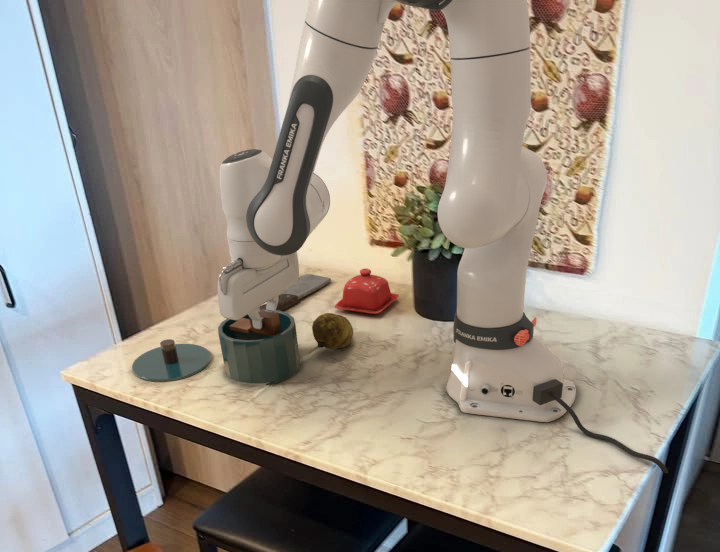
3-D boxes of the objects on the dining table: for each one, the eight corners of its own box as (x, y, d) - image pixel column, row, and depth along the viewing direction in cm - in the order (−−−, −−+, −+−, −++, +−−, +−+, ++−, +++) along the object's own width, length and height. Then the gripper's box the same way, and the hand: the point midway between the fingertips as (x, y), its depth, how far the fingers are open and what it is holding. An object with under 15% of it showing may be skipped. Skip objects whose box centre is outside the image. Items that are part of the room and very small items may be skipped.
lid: (227, 356, 152) (222, 333, 149) (176, 390, 141) (170, 366, 138) (169, 343, 159) (164, 320, 156) (116, 375, 148) (110, 351, 145)
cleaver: (258, 327, 162) (257, 318, 160) (223, 319, 166) (222, 310, 165) (335, 281, 181) (334, 273, 180) (302, 275, 186) (301, 267, 185)
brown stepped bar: (283, 329, 141) (281, 311, 139) (271, 338, 139) (268, 320, 137) (242, 321, 146) (239, 303, 144) (229, 329, 143) (226, 311, 141)
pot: (314, 358, 149) (309, 315, 143) (271, 392, 139) (265, 347, 133) (255, 346, 155) (248, 304, 150) (210, 377, 145) (201, 334, 140)
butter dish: (356, 293, 174) (353, 257, 169) (401, 300, 170) (400, 263, 165) (332, 312, 166) (328, 275, 161) (379, 320, 162) (377, 281, 157)
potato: (369, 337, 155) (367, 300, 150) (336, 364, 146) (333, 325, 142) (335, 330, 159) (332, 294, 154) (301, 356, 150) (296, 318, 145)
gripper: (232, 272, 124) (245, 349, 132) (301, 234, 138) (308, 305, 146) (203, 267, 126) (216, 343, 134) (273, 230, 140) (281, 300, 148)
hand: (265, 323), depth 140 cm, fingers closed on brown stepped bar, 2 cm apart
